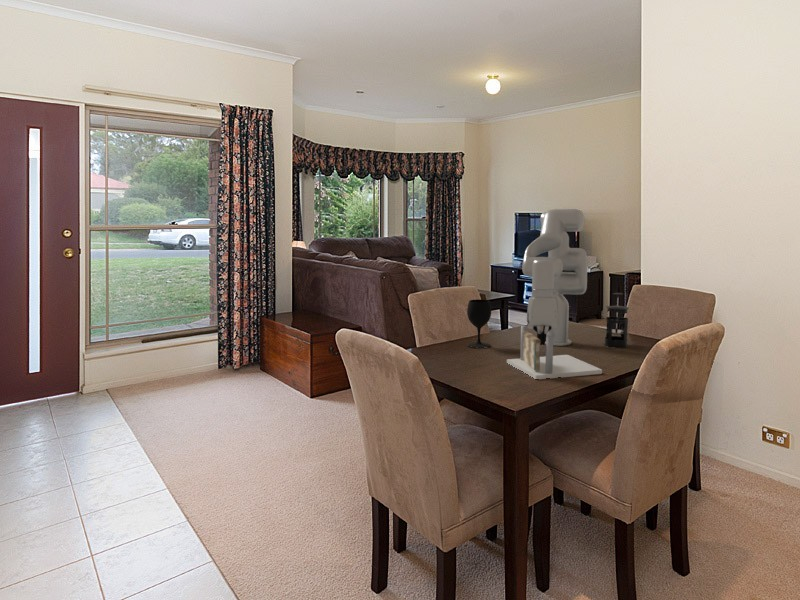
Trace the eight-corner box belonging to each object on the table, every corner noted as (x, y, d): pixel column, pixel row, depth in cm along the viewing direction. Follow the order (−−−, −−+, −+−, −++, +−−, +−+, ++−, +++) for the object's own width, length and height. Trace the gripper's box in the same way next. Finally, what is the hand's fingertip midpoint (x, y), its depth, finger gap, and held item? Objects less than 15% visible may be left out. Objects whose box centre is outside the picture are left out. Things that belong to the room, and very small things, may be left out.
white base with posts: (506, 363, 212) (507, 326, 210) (567, 358, 219) (568, 322, 217) (535, 379, 190) (536, 338, 188) (601, 373, 197) (603, 333, 194)
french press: (617, 349, 232) (619, 295, 229) (598, 345, 240) (600, 292, 237) (634, 345, 239) (637, 293, 235) (615, 341, 246) (618, 290, 243)
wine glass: (464, 347, 239) (464, 302, 236) (470, 342, 249) (470, 298, 246) (487, 349, 235) (488, 303, 232) (493, 344, 245) (493, 299, 242)
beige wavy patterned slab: (522, 359, 210) (522, 331, 208) (527, 359, 210) (527, 330, 209) (534, 370, 194) (535, 340, 193) (539, 370, 194) (540, 340, 193)
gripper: (560, 292, 200) (559, 341, 203) (519, 292, 200) (518, 342, 202) (566, 294, 192) (565, 346, 195) (524, 295, 192) (523, 346, 195)
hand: (541, 344), depth 199 cm, fingers closed
